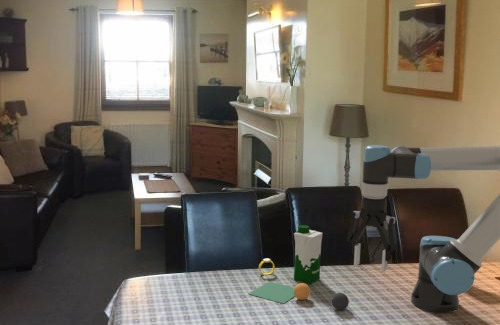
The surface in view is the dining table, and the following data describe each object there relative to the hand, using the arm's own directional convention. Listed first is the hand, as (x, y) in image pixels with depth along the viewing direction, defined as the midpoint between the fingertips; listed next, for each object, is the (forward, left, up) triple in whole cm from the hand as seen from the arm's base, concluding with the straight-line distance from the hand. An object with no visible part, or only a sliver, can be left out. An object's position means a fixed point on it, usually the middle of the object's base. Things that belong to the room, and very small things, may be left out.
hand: (370, 267), depth 175 cm
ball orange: (+24, 0, -14) cm, 27 cm away
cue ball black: (+10, 0, -14) cm, 17 cm away
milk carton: (+31, -17, -17) cm, 39 cm away
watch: (+46, -13, -17) cm, 50 cm away
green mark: (+34, 0, -16) cm, 37 cm away
